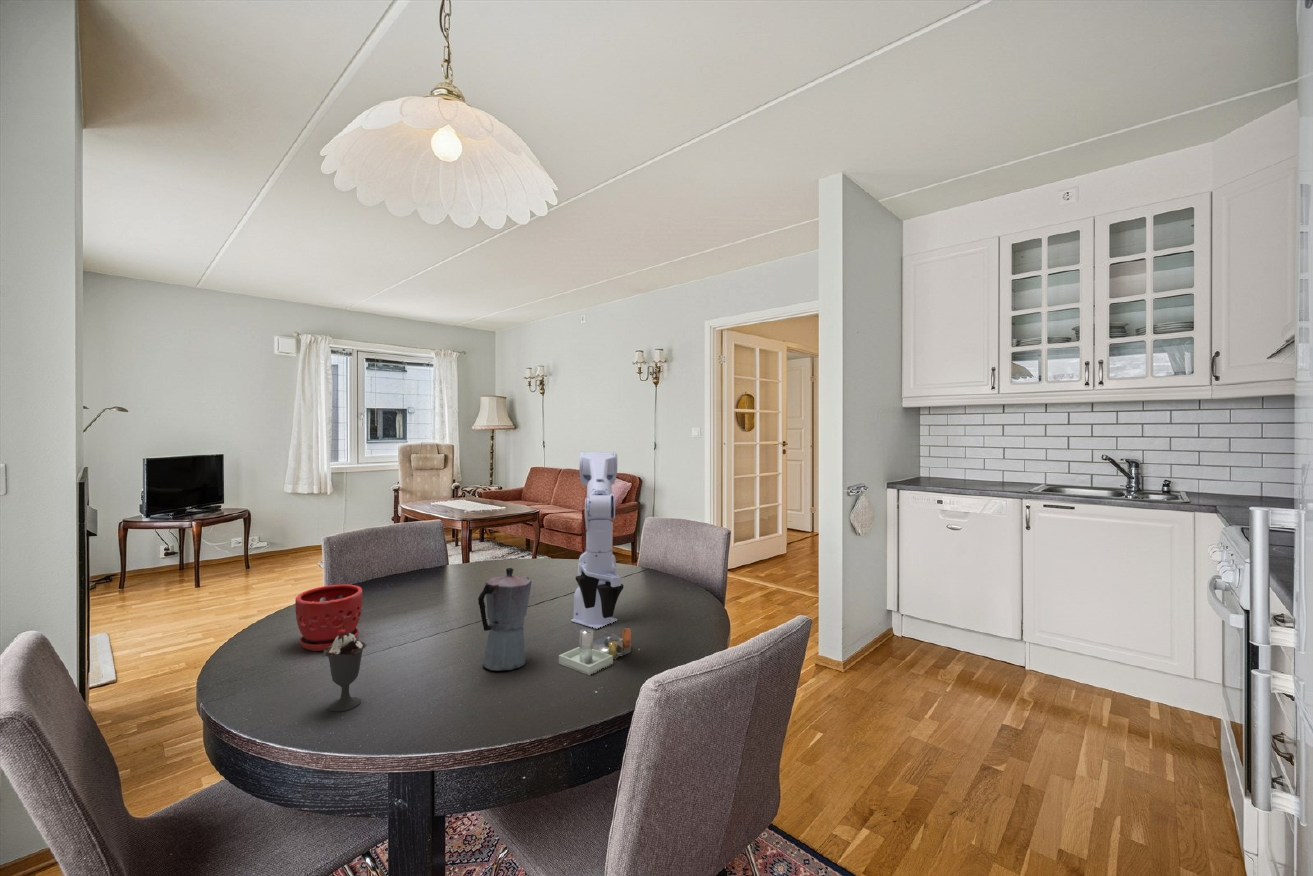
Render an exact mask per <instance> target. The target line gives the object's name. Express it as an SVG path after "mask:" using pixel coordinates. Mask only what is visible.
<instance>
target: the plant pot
mask: <svg viewBox="0 0 1313 876" xmlns="http://www.w3.org/2000/svg"><path fill="white" fill-rule="evenodd" d="M363 593H364V592H363V588H362V587H361V586H359V585H356V584H354V585H353V584H332V585H324V586H323V585H322V586H319V587H314V588H312V589H311V588H310V589H308V590H305V591H303V592H300V594H298V595H297V596H296V597H295V619H296V623H297V627H298V630H299V632H300V634H301V637H300V639H299V644H300V646H301V647H303V648H304V649H306V650H309V651H316V652H317V651H320V652H321V651H322V652H324V649H325V648H326V647H329V646H332V644H333V642H334V640H335V638H336V637H337V636H338V631H339V630H341V629H342V623H343V625H344V630H345V631H347V632H350V633H352V634H353V635H354V636H355V638H356V639H357V638H358V636H359V633H360V632H359V629H358V628H357V627H358V624H359V622H360V620H361V617H362V616H361V615H362V613H363V612H362V611H363V599H364V598H363ZM339 596H341V597H342V598H339ZM322 598H325V600H322V601H321V599H322ZM338 619H340V620H341V622H342V623H341V622H340V621H338Z"/></svg>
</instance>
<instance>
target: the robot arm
mask: <svg viewBox="0 0 1313 876" xmlns="http://www.w3.org/2000/svg"><path fill="white" fill-rule="evenodd" d="M578 465H579V466H578V467H579V472H578V473H579V480H580V484H581V485H583V486H586V497H585V499H584V520H585V530H586V533H585V535H586V539H585V542H586V545H585V551H584V552H583V553H581V554H580V555H579V558H578V566H577V567H578V568H577V575H576V576H575V580H576V583H577V585H578V587H577V588H576V589H575V592H574V595H573V618H572V619H570V621H571V622H572V623H576V624H579V625H583V626H586V627H589V628H592V627H593V628H592V629H595V628H596V630H598V628H599V629H601V628H604V627H606V626H608V625H607V624H609V623H611V624H614V623H616V622H618V621H617V620H618V618H615V617H613V616H614V612H615V608H616V604H617V602H618V599H619V596H620V594H621V593H622V591H623V589H624V584H623V583H622V577H621V575H618V574H617V563H616V562H617V561H616V560H617V559H616V556H615V555H614V554H613V537H614V535H613V534H614V533H613V531H614V529H613V527H614V526H613V525H614V523H613V522H614V521H615V517H616V499H615V495H614V493H613V491H612V490H613V488H612V486H613V485H615V482H616V480H617V474H618V454H617V452H616V451H613V452H602V451H601V452H599V451H598V452H597V451H596V452H595V451H592V452H584V451H581V453H579V464H578ZM615 621H616V622H615ZM613 622H614V623H613ZM605 625H606V626H605ZM609 625H610V624H609ZM603 626H604V627H603ZM600 627H601V628H600Z"/></svg>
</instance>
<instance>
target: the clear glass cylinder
mask: <svg viewBox="0 0 1313 876" xmlns="http://www.w3.org/2000/svg"><path fill="white" fill-rule="evenodd" d="M593 641H594V630H593V628H582V629H580V630H579V647H580V650H579V662H581V663H584V664H590V663H592V662H593Z"/></svg>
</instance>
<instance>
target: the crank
mask: <svg viewBox="0 0 1313 876" xmlns="http://www.w3.org/2000/svg"><path fill="white" fill-rule="evenodd" d="M618 637H619V634H617V633H605V634H604V635H603V638H604V644H605V645H607V646H609V642H610V641H616V642H617V650H618V651H619V652H621V653H623V654H626V653H628V654H630V653H631V651H632V643H631V642H632V630H631V628H629V627H625V628H622V637H621V638H622V641H620V640H619V639H618Z"/></svg>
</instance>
